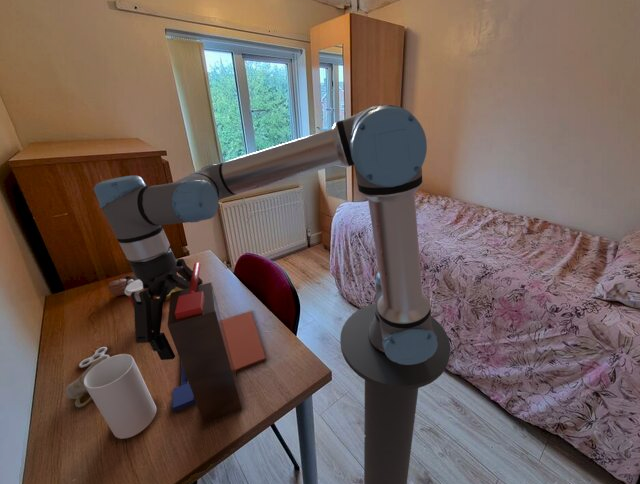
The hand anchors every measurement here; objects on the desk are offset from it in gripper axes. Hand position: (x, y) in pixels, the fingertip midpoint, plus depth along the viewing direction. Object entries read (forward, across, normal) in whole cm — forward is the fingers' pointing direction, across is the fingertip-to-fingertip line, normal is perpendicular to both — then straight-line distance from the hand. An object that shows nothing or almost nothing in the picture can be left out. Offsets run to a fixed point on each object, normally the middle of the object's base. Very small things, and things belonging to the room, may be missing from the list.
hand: (186, 334), depth 66 cm
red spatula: (-12, -1, +6) cm, 13 cm away
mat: (+17, -14, +2) cm, 22 cm away
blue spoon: (+16, -2, -8) cm, 18 cm away
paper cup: (+14, -23, -31) cm, 41 cm away
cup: (+16, +9, -13) cm, 22 cm away
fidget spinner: (+13, -8, -36) cm, 39 cm away
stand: (+17, +3, +5) cm, 18 cm away
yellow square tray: (+13, -36, -34) cm, 51 cm away
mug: (+14, +2, -28) cm, 32 cm away
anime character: (+12, -41, -48) cm, 64 cm away
